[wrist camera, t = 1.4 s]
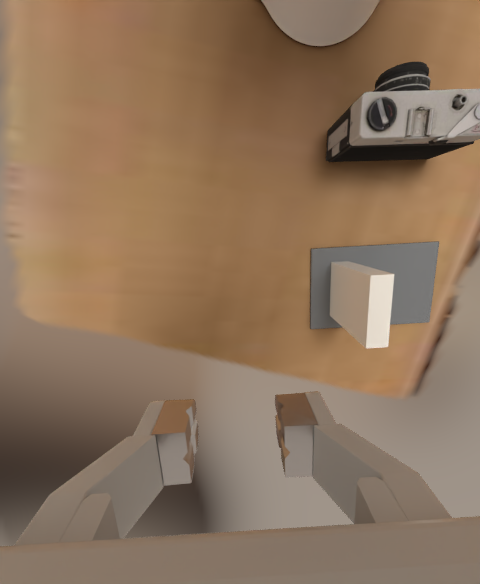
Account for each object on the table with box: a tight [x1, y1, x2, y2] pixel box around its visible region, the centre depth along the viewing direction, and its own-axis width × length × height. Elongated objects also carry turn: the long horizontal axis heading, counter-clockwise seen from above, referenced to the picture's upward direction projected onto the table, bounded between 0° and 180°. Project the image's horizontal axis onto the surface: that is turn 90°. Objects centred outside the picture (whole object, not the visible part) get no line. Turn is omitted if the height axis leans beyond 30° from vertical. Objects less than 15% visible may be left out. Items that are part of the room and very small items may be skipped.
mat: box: [310, 242, 439, 329], centre depth 38 cm, size 12×18×1 cm, turn 93°
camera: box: [326, 62, 480, 162], centre depth 29 cm, size 14×9×10 cm, turn 84°
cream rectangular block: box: [330, 261, 394, 348], centre depth 32 cm, size 8×3×11 cm, turn 3°
